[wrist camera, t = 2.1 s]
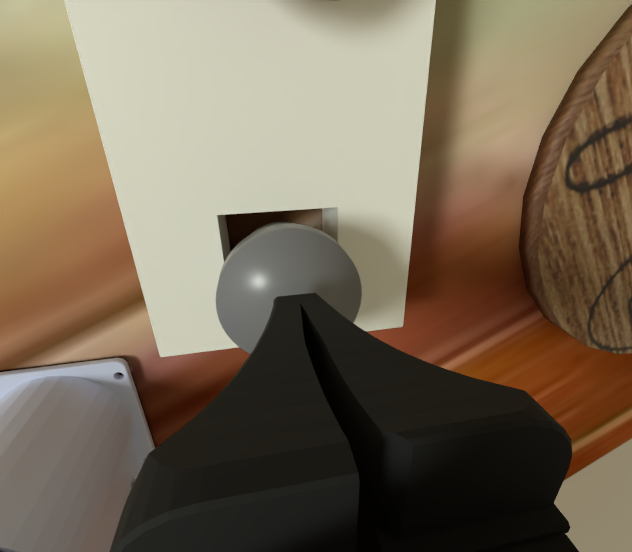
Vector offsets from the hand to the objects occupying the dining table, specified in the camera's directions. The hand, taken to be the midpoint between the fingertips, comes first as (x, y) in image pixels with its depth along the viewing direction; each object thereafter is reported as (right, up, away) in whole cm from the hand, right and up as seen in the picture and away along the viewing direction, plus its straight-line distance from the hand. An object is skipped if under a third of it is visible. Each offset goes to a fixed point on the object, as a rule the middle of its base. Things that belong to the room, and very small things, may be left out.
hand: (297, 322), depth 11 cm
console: (-2, +9, +5) cm, 10 cm away
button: (-1, +2, +4) cm, 5 cm away
